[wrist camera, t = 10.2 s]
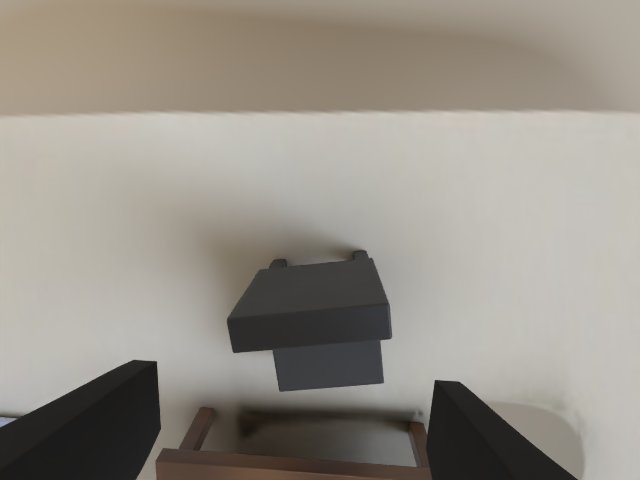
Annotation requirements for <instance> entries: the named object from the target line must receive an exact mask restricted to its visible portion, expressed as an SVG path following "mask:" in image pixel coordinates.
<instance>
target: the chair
mask: <svg viewBox="0 0 640 480" xmlns="http://www.w3.org/2000/svg"><path fill="white" fill-rule="evenodd" d="M353 257H354V260H348V261H339V262H329V263H320V264H310V265H300V266H291V267H287V263H286V259H280V260H274V261H273V262H272V264H271V265H270V267H269V269H262V270H259V271H258V273H257V274H256V276H255V277H254V279H253V281H252V282H251V284H250V285H249V287H248V288H247V290H246V291H245V293H244V294H243V296H242V297H241V299H240V300H239V302H238V303H237V305H236V306H235V308H234V309H233V311H232V312H231V314H230V315H229V317H228V318H227V324H228V329H229V334H230V339H231V345H232V350H233V352H234V353H240V352H251V351H263V350H273V355H274V361H275V367H276V374H277V380H278V386H279V391H280V392H283V391H295V390H307V389H320V388H332V387H344V386H356V385H369V384H381V383H384V378H383V367H382V356H381V345H380V340H386V339H391V338H392V329H391V317H390V305H389V302H388V300H387V297H386V294H385V291H384V289H383V286H382V283H381V280H380V278H379V275H378V272H377V269H376V267H375V264H374V261H373V259H372V258H369V257H368V254H367V251H356V252H353Z"/></svg>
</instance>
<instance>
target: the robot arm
mask: <svg viewBox="0 0 640 480" xmlns="http://www.w3.org/2000/svg"><path fill="white" fill-rule="evenodd" d="M160 430H161V424H160V407H159V390H158V373H157V361H142V360H133V361H130V362H128V363H126V364H123V365H121V366H119V367H117V368H115V369H113V370H111V371H109V372H107V373H105V374H104V375H102V376H100V377H98V378H96V379H94V380H92V381H90V382H88V383H87V384H85V385H83V386H81V387H79V388H77V389H75V390H73V391H71V392H69V393H67V394H66V395H64V396H62V397H60V398H58V399H56V400H54V401H52V402H50V403H48V404H46V405H44V406H42V407H40V408H38V409H36V410H34V411H32V412H30V413H28V414H26V415H24V416H22V417H20V418H5V417H0V480H136V478H137V477H138V475H139V473H140V471H141V470H142V468H143V466H144V464H145V462H146V460H147V458H148V456H149V454H150V452H151V449H152V447H153V445H154V443H155V441H156V438H157V436H158V434H159V432H160ZM426 452H427V457H428V462H429V467H430V472H431V476H432V480H578V479H576V478H575V477H574V476H572V475H571V474H570V473H569V472H567V471H566V470H565V469H563V468H562V467H561V466H559V465H558V464H557V463H555V462H554V461H553V460H552V459H550V458H549V457H548V456H547V455H545V454H544V453H543V452H542V451H540V450H539V449H538V448H537V447H535V446H534V445H533V444H532V443H531V442H529V441H528V440H527V439H526V438H525V437H523V436H522V435H521V434H520V433H519V432H518V431H516V430H515V429H514V428H513V427H512V426H510V425H509V424H508V423H507V422H506V421H505V420H503V419H502V418H501V417H500V416H499V415H498V414H497V413H495V412H494V411H493V410H492V409H491V408H490V407H489V406H487V405H486V404H485V403H484V402H483V401H482V400H481V399H479V398H478V397H477V396H476V395H475V394H474V393H473V392H471V391H470V390H469V389H468V388H467V387H465V386H464V385H463V384H462V383H460V382H456V381H441V380H435V384H434V392H433V399H432V406H431V413H430V420H429V428H428V435H427V442H426Z"/></svg>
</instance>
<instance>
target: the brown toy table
mask: <svg viewBox="0 0 640 480" xmlns="http://www.w3.org/2000/svg"><path fill="white" fill-rule="evenodd" d="M213 420H214V418H213V408H200V409H199V411H198V413H197V415H196V417H195V419H194V421H193V422H192V424H191V426H190V428H189V430H188V432H187V434H186V436H185V437H184V439H183V441H182V443H181V445H180V447H179V449H169V448H163V449H162V451H161V453H160V454H159V456H158V458H157V459H156V476H157V480H432V476H431V472H430V467H429V462H428V457H427V452H426V442H427V433H426V430H425V427H424V424H423V423H410V425H409V433H408V434H409V438H410V442H411V446H412V449H413V453H414V457H415V461H416V464H417V467H407V466H394V465H381V464H367V463H354V462H341V461H328V460H314V459H301V458H288V457H275V456H262V455H248V454H235V453H222V452H209V451H199V450H200V448H201V446H202V443H203V441H204V439H205V437H206V435H207V433H208V430H209V428H210V426H211V424H212V422H213Z"/></svg>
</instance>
